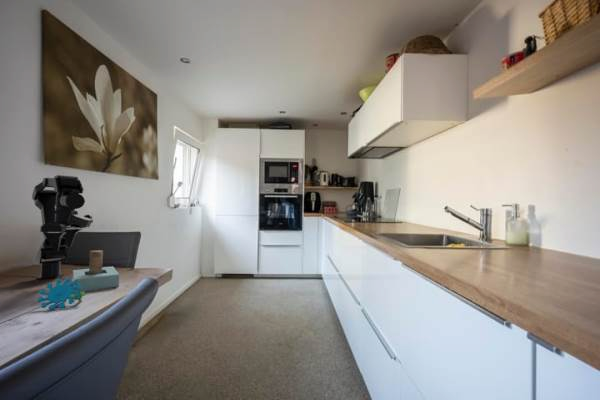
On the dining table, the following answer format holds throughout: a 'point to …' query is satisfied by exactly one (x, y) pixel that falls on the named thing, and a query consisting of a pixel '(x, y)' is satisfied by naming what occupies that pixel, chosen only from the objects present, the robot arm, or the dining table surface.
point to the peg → (95, 262)
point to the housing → (96, 279)
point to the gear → (61, 294)
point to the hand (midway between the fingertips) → (63, 248)
